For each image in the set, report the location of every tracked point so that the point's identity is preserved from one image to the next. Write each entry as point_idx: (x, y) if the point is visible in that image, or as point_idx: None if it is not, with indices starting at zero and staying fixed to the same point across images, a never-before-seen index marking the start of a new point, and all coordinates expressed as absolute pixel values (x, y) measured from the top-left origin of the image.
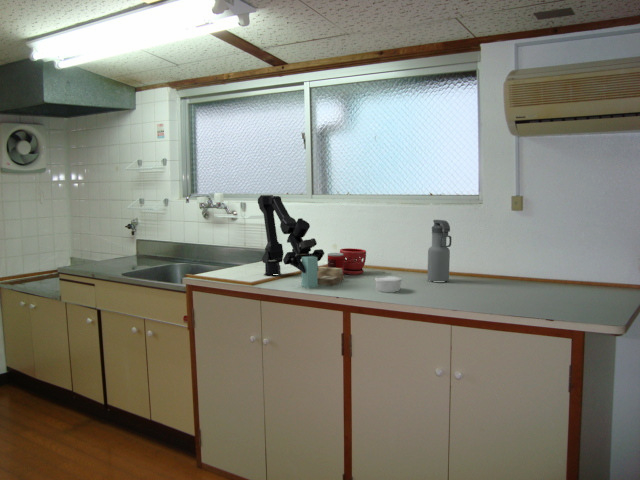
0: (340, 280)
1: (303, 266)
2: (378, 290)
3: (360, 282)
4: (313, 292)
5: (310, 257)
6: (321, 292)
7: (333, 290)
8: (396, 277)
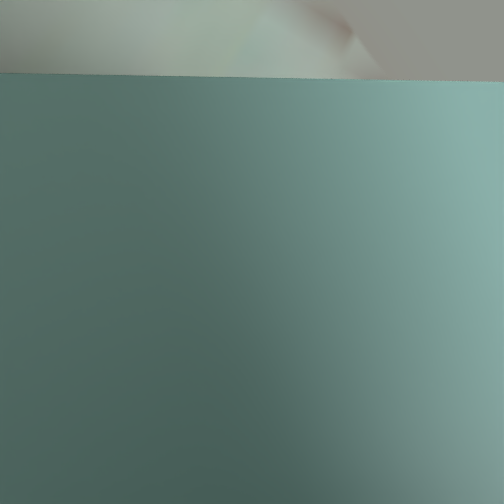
0: None
1: None
2: None
3: None
4: (296, 76)
5: (357, 196)
6: (230, 37)
7: (72, 42)
8: None
